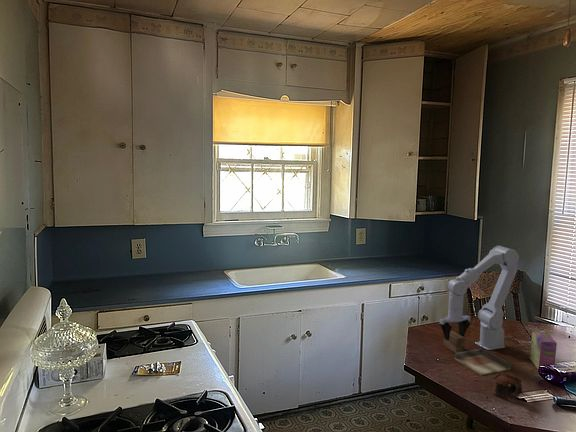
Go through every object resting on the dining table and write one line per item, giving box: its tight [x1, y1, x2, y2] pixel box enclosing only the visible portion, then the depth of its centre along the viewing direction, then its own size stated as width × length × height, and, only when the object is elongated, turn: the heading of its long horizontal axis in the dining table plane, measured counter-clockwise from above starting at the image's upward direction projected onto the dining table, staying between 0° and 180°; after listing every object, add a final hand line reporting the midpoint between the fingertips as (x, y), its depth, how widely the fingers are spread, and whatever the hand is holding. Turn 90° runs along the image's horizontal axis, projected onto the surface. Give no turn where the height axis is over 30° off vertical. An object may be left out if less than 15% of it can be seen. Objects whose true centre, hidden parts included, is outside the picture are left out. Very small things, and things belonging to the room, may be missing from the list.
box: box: [529, 331, 558, 370], centre depth 178 cm, size 10×6×12 cm, turn 168°
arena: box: [453, 347, 511, 376], centre depth 180 cm, size 14×15×3 cm
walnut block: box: [442, 330, 466, 354], centre depth 195 cm, size 4×8×6 cm, turn 19°
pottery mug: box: [492, 371, 523, 400], centre depth 156 cm, size 12×10×8 cm
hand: (454, 338), depth 195 cm, fingers open, 7 cm apart
